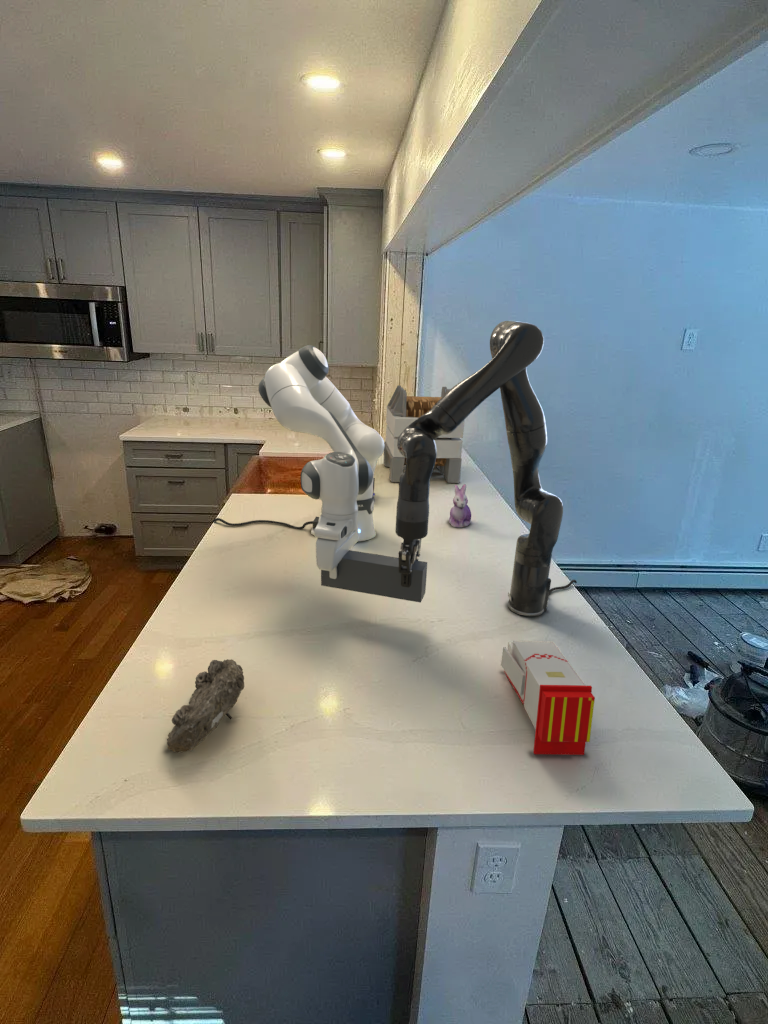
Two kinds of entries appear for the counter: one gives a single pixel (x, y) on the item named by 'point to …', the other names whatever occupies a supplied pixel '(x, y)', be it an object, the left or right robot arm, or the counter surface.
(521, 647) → the toy
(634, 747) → the counter surface
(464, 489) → the figurine
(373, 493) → the figurine character
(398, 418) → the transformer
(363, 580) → the bar
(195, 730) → the fossil
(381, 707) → the counter surface
